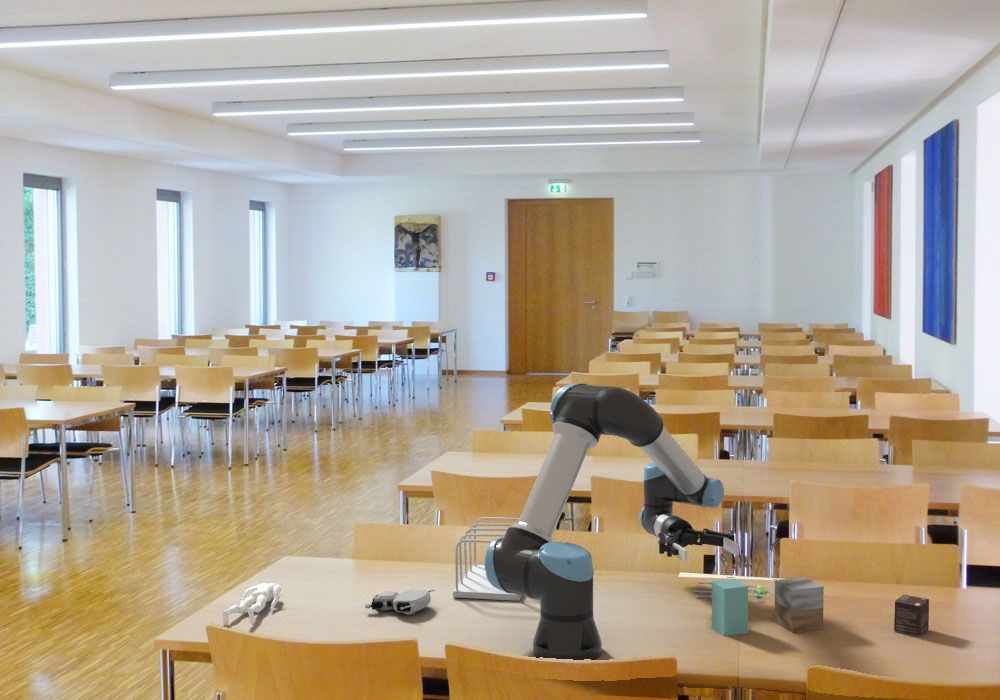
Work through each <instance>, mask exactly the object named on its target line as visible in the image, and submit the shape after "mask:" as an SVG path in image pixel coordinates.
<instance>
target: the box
mask: <svg viewBox="0 0 1000 700" xmlns="http://www.w3.org/2000/svg"><path fill="white" fill-rule="evenodd" d="M929 614H930V599H929V598H925V597H921V596H920V597H919V596H913V595H908V594H902V595H901V596H899V597H898V598H897V599H895V600H894V618H893V619H894V622H893V623H894V628H893V629H894V630H893V631H894V632H895V633H898V634H904V635H910V636H915V637H919V638H920V637H921V636H922V635H924V633H926V632H927V631H928V630H929V623H930V622H929V621H930V620H929V618H930V615H929Z"/></svg>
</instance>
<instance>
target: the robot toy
mask: <svg viewBox="0 0 1000 700" xmlns="http://www.w3.org/2000/svg"><path fill="white" fill-rule="evenodd" d="M435 591H436V590H435V589H431V590H427V589H410V590H405V591H402V592H401V593H398V592H397V591H392V590H388V591H387V590H385V591H382V592H380V593H379V594H376V595H374V596H373V598H372V601H371V603H366V604H365V605H364V608H365V609H371V610H373V611H374V610H381V611H382V612H384V611H388V610H394V611H396V613H403V614H404V615H407V616H411V615H414V614H416V612H419V611H421V610H423V609H425V608H427V607H428V605H429V604H430V603H431V601H432V600H431V592H435Z"/></svg>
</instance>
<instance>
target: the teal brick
mask: <svg viewBox="0 0 1000 700" xmlns="http://www.w3.org/2000/svg"><path fill="white" fill-rule="evenodd" d="M711 582H712V584H711V588H712V590H711V591H712V593H711V595H712V599H711V628H712V629H714V631H717V632H718V633H720V635H722V636H724V637H725V636H734V635H735V636H736V635H741V634H742V635H744V634H748V633H749V602H748V601H749V595H748V594H749V591H748V590H749V586H748V585H746V584H745V583H743V582H742V581H740V580H739V579H723V580H714V581H713V580H712V581H711Z"/></svg>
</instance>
